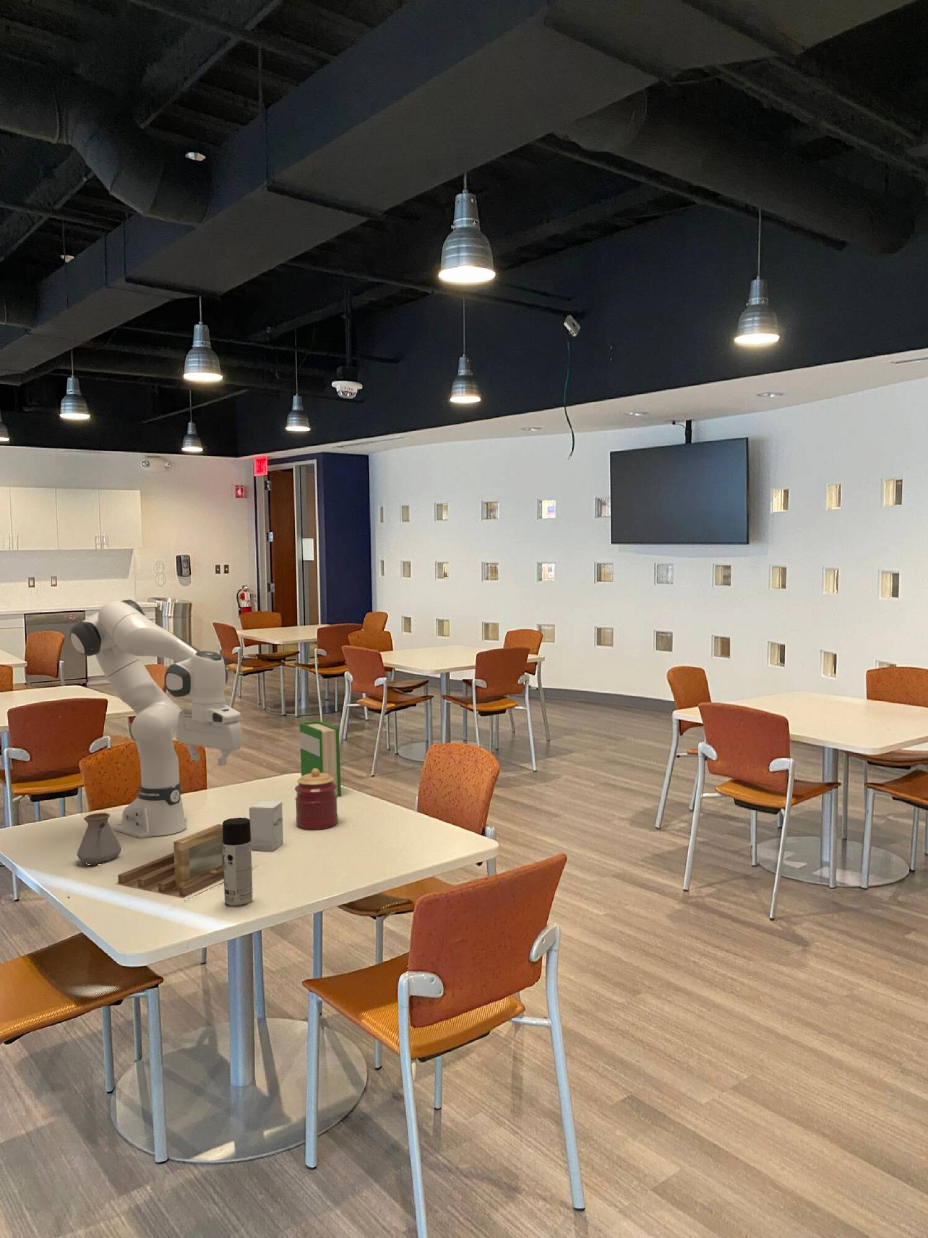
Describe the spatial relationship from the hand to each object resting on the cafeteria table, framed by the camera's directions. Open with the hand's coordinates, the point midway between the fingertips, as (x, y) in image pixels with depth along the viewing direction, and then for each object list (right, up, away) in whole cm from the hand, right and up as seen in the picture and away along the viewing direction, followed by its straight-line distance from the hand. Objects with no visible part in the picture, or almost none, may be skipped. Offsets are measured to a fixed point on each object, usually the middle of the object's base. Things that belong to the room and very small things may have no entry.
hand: (208, 762), depth 246 cm
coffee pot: (-30, -29, +3) cm, 42 cm away
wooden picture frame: (+2, -28, -11) cm, 30 cm away
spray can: (+14, -30, -24) cm, 41 cm away
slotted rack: (-4, -29, -8) cm, 30 cm away
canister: (+23, -25, +38) cm, 52 cm away
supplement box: (+12, -27, +17) cm, 34 cm away
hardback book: (+19, -23, +76) cm, 82 cm away
